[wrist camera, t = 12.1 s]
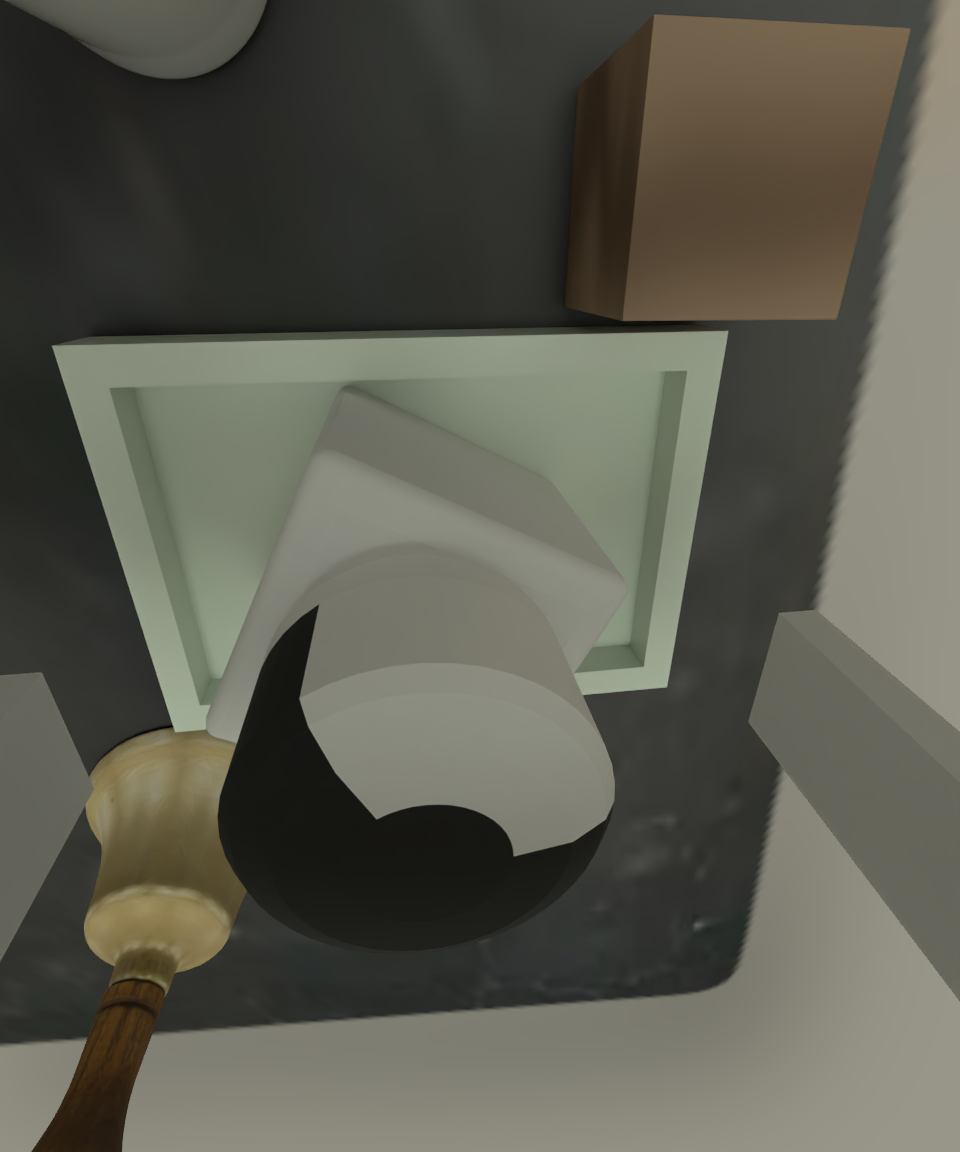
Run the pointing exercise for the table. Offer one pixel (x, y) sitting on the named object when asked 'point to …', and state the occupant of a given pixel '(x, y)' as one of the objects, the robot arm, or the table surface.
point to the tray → (417, 386)
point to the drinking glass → (155, 31)
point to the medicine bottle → (415, 694)
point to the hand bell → (146, 912)
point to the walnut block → (727, 168)
